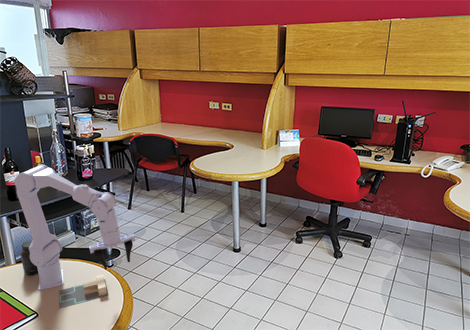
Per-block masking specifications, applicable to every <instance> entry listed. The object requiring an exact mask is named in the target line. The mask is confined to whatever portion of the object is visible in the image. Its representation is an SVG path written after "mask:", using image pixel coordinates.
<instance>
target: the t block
mask: <svg viewBox="0 0 470 330" xmlns="http://www.w3.org/2000/svg"><path fill="white" fill-rule="evenodd" d="M104 275H105V274H104V273H102V274H99V275H95V277H96V279H95V280H90V281H88V282H84V283H83V284H82V285H83V287H84V294H85V295H86V294H90V293H94V292H99V296H101V295H105V294H107V292H106V285H107V284H106V285H105V281H106V279H105V276H104ZM104 279H105V280H104Z"/></svg>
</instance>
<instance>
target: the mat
mask: <svg viewBox="0 0 470 330" xmlns="http://www.w3.org/2000/svg"><path fill="white" fill-rule="evenodd" d="M104 280H105V285H106V292H107V294H105V295H101V296H99V292H94V293H90V294H86V295H85V294H84V287H83V284H81V285H80V284H79V285H75V286H72V287H68V288H64V289H60V290H58V309H59V310H60V309H63V308H67V307H70V306H75V305H78V304H82V303H86V302H90V301H92V300H97V299H100V298H104V297H108V296H109V291H108V287H107V286H108V285H107V282H106V279H105V278H104Z"/></svg>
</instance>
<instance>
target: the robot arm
mask: <svg viewBox="0 0 470 330" xmlns="http://www.w3.org/2000/svg"><path fill="white" fill-rule="evenodd" d="M13 182H14V185H15V187H16V195H17V198H18V200H19V201H18V202H19V203H20V207H21V210H22V213H23V214H24V218H25V221H26V223H27V226H28V229H29V231H30V235H31V237H32V239H31V241H32V243H31V245H30V247H29V251H30V260H31V262H32V263H33V264H34V265H35V266H37V269H38V274H37V275H38V278H39V280H38V290H39V291H41V290H47V289H50V288H55V287H58V286H59V287H60V286H63V285H64V284H65V283H64V269H62V268H61V262H60V256H61V255H60V254H61V252H62V251H63V245H62V243H61V242H60V241H59V239H58V237H57V235H56V234H53V233H50V229H49V226H48V224H47V221H46V217H45V214H44V211H43V209H42V205H41V202H40V199H39V197H38V192H39V191H40V189H43V188H47V187H51V188H53V189H56V190H58V191H61V192H63V193H66V194H68V195H71V197H72V199H73V201H75V202H78V203H79V204H81V205H83V206H86V207H88V208H90V210H91V212H92V213H93V214H94V216H95V217H96V220H97V222H98V227H99V231H100V235H101V239H102V240H101V241H99V242H97V243H94V244H91V245H89V246H88V247H89V252H90V254H94V257H95V258H96V259H97V260H98V261H99V262H100V263H101V264H102V266H103V268H104V270H105V271H106V270H107V269H108V267H107V263H106V260H105V257H104V253H103V250H105V249H109V248H110V249H114V248H116V247H118V246H119V245H122V244H124V248H125V255H126V261H127V263H131V252H132V249H133V245H134V244H133V242H135V241H136V239H135V234H134V233H130V234H124V235H121V234H120V229H119V224H118V220H117V214H116V212H115V208H114V207H115V206H117V200H116V199H117V198H116V197H115V196H114V194H112V193H111V192H108V191H107V192H106V191H105V192H102V191H100V190H99V191H98V190H96V189H94V188H91V187H90V186H89V185H87V184H86V183H84V184H78V185H77V184H75V183H73V182H71V181H70V180H69V179H66V178H65V177H63V176H61V175H59V174H58V173H56V172H55V171H54V169H53V168H51V167H48V166H47V165H45V164H38V165H36V166H35V167H32V168H30V169H28V170H26V171H24V172H20V173H19V174H17V175H16V176H15V177H14V179H13Z"/></svg>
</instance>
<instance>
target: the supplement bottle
mask: <svg viewBox="0 0 470 330" xmlns="http://www.w3.org/2000/svg"><path fill="white" fill-rule="evenodd" d="M31 243H32V240H28V241H25V242H24V243H22V244H21V248H22V249H21V252H20V259H21V265H22V268H23V272H24V274H25V276H28V277H29V276H32V277H33V276H35V275H39V274H38V269H37V266H35V265H34V264H33V263H32V262H31V260H30V251H29V247H30V245H31Z"/></svg>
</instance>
